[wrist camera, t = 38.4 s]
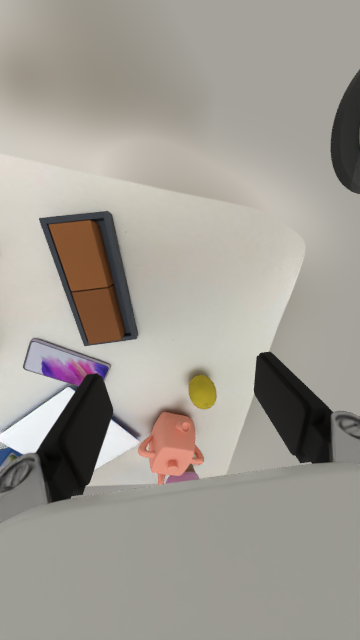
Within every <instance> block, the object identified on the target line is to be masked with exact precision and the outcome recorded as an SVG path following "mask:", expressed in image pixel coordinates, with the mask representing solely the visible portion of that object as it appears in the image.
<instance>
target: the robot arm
mask: <svg viewBox="0 0 360 640" xmlns="http://www.w3.org/2000/svg"><path fill="white" fill-rule="evenodd" d="M359 143H360V130H359ZM254 393H255V396H256V397H257V399H258V401H259V402H260V404H261V405H262V407H263V409H264V410H265V412H266V414H267V415H268V417H269V418H270V420H271V422H272V423H273V425H274V426H275V428H276V430H277V432H278V433H279V435H280V436H281V438H282V439H283V441H284V443H285V444H286V446H287V448H288V449H289V451H290V452H291V454H292V455H296V457H297V458H298V460H299V461H300V463H305V462H311V463H312V464H307V465H299V466H291V467H281V468H274V469H267V470H260V471H253V472H245V473H238V474H231V475H224V476H217V477H210V478H203V479H196V480H189V481H182V482H175V483H168V484H161V485H155V486H148V487H142V488H135V489H128V490H122V491H115V492H109V493H102V494H96V495H90V496H85V497H79V498H72V499H71V496H76V495H83V492H84V489H85V486H86V485H88V484H89V483H90V480H91V478H92V475H93V472H94V469H95V466H96V463H97V460H98V457H99V454H100V451H101V448H102V445H103V442H104V439H105V436H106V433H107V430H108V427H109V424H110V421H111V418H112V415H113V407H112V404H111V401H110V398H109V395H108V392H107V389H106V386H105V383H104V380H103V377H102V376H101V375H99V374H98V373H94V374H87V375H86V376H85V378H84V379H83V381H82V382H81V384H80V385H79V387H78V388H77V390H76V391H75V393H74V394H73V396H72V397H71V399H70V400H69V402H68V403H67V405H66V406H65V408H64V409H63V411H62V413H61V414H60V416H59V417H58V419H57V420H56V422H55V423H54V425H53V426H52V428H51V429H50V431H49V432H48V434H47V435H46V437H45V438H44V440H43V441H42V443H41V444H40V446H39V448H38V449H37V451H36V453H27V454H24V455H22V456H20V457H18V458H16V459H15V460H13V461H12V462H10V463H9V464H8V465H7V466H6V467H5V468H4V469H3V470H1V472H0V640H360V416H358V415H355V414H353V413H350V412H346V411H336V412H334V413H333V412H332V411H331V410H330V409H329V407H328V406H326V404H325V403H324V402H322V400H320V399H319V398H318V397H317V396H316V395H315V394H314V393H313V392H312V391H311V390H310V389H309V388H308V387H307V386H306V385H305V384H304V383H303V382H302V381H301V380H300V379H298V378H297V377H296V376H295V375H294V374H293V373H292V372H291V371H290V370H289V369H288V368H287V367H286V366H285V365H284V364H283V363H282V362H281V361H280V360H279V359H278V358H277V357H276V356H275V355H274V354H272V353H271V352H264V353H260V354H259V356H257V360H256V371H255V383H254Z"/></svg>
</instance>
